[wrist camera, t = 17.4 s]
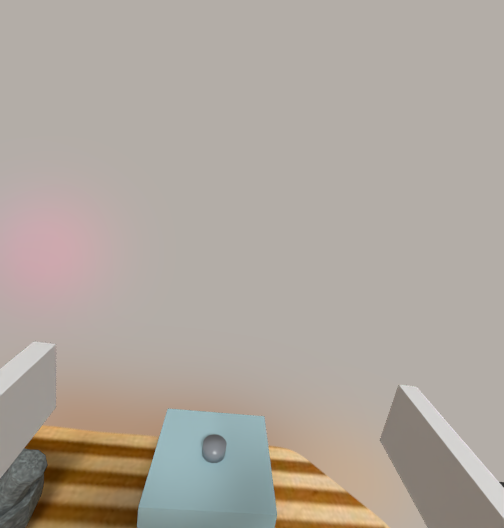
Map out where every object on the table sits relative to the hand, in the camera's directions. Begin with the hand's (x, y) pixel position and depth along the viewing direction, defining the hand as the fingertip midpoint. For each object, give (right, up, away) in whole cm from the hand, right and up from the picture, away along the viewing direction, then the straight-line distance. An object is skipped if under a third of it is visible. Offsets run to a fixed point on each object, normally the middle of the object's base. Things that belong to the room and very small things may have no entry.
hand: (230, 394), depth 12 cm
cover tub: (-5, -24, +22) cm, 33 cm away
